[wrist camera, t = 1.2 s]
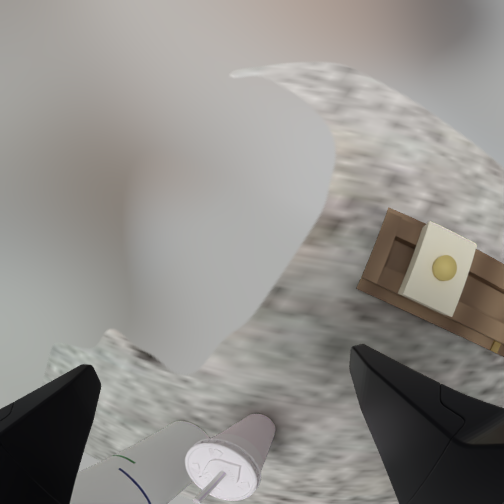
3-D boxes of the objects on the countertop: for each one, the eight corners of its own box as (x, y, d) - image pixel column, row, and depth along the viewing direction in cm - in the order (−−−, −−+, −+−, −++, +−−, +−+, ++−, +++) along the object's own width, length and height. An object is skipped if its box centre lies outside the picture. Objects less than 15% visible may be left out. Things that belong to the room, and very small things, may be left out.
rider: (458, 251, 19) (481, 242, 14) (436, 312, 19) (455, 318, 14) (417, 231, 20) (432, 217, 16) (394, 293, 20) (405, 294, 16)
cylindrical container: (204, 476, 28) (60, 582, 4) (160, 445, 30) (4, 520, 7) (223, 442, 27) (52, 567, 4) (174, 410, 30) (-12, 486, 7)
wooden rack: (536, 297, 18) (568, 297, 12) (513, 361, 18) (541, 374, 12) (383, 218, 25) (391, 200, 19) (356, 288, 25) (356, 288, 20)
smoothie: (300, 436, 25) (254, 524, 12) (253, 459, 26) (191, 534, 13) (263, 391, 27) (192, 458, 14) (219, 417, 28) (138, 477, 15)
